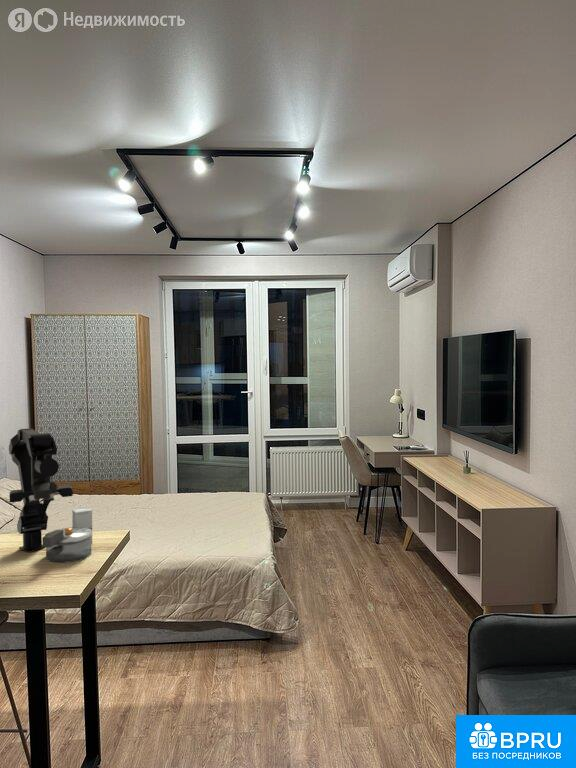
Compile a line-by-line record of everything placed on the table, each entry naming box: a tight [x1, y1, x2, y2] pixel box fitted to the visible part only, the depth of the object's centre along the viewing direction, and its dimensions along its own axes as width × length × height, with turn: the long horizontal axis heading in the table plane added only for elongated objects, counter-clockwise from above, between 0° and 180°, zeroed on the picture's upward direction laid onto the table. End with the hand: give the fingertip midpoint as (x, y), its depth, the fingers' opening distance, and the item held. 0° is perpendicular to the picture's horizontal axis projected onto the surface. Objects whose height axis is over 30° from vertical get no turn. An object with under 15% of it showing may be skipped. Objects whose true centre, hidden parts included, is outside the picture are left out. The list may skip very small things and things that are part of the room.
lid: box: [42, 526, 93, 548], centre depth 186 cm, size 21×15×4 cm
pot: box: [45, 537, 92, 564], centre depth 187 cm, size 20×14×6 cm
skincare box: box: [71, 507, 93, 545], centre depth 202 cm, size 6×4×12 cm
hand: (42, 519), depth 186 cm, fingers closed
